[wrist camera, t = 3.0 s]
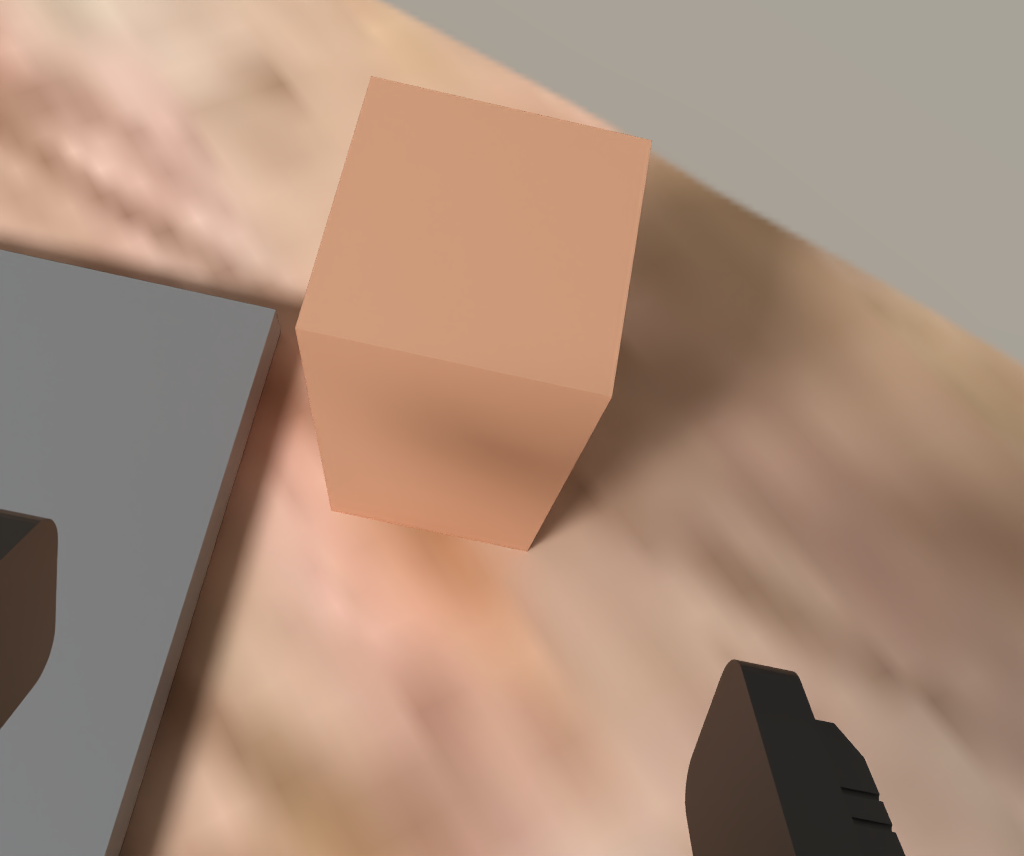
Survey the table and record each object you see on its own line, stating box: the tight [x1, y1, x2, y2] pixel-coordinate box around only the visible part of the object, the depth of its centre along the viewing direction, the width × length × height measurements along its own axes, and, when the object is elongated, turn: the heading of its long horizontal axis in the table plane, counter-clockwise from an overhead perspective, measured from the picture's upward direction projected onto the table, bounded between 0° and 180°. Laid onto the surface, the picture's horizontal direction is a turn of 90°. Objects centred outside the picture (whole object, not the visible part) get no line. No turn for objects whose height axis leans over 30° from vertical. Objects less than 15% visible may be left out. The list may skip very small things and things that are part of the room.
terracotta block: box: [295, 76, 652, 551], centre depth 20 cm, size 5×5×10 cm
